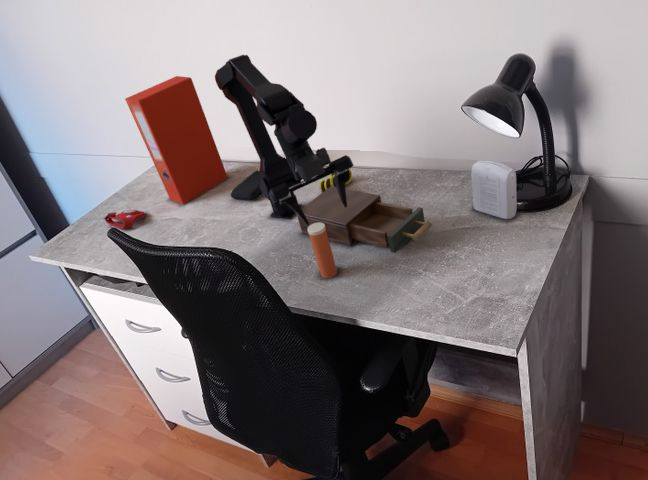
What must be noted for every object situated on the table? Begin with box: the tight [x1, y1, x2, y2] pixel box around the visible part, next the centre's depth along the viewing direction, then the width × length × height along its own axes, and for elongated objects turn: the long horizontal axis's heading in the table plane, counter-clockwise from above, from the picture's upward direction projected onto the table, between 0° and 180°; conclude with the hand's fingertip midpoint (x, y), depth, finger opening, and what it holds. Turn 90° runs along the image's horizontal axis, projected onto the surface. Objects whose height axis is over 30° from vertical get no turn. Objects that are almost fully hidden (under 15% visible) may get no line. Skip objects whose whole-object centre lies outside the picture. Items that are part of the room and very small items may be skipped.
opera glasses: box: [318, 168, 353, 194], centre depth 150 cm, size 10×5×5 cm, turn 149°
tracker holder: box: [102, 209, 146, 230], centre depth 159 cm, size 12×4×10 cm
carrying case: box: [230, 170, 263, 202], centre depth 159 cm, size 11×3×15 cm
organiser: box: [296, 186, 383, 247], centre depth 132 cm, size 16×14×6 cm
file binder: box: [124, 75, 228, 205], centre depth 160 cm, size 8×17×32 cm, turn 138°
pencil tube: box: [307, 222, 338, 279], centre depth 115 cm, size 4×4×12 cm
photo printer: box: [470, 160, 518, 220], centre depth 121 cm, size 10×4×12 cm, turn 42°
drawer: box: [348, 201, 433, 254], centre depth 123 cm, size 19×12×4 cm, turn 51°
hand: (327, 215), depth 118 cm, fingers open, 9 cm apart
